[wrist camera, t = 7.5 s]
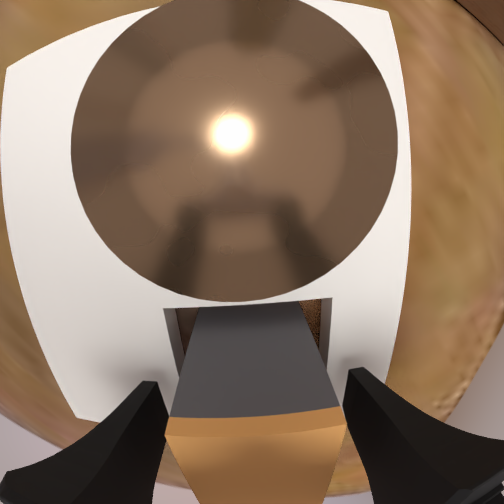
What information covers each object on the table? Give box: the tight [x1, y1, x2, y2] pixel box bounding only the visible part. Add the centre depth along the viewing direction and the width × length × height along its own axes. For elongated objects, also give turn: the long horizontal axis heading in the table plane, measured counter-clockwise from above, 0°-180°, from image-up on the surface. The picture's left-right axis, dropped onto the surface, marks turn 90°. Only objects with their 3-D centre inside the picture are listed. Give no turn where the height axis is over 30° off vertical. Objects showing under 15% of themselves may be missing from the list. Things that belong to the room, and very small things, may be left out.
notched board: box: [0, 0, 411, 423], centre depth 10 cm, size 16×18×2 cm
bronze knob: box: [71, 0, 398, 302], centre depth 6 cm, size 5×5×5 cm
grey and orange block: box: [165, 301, 347, 504], centre depth 9 cm, size 4×5×7 cm
